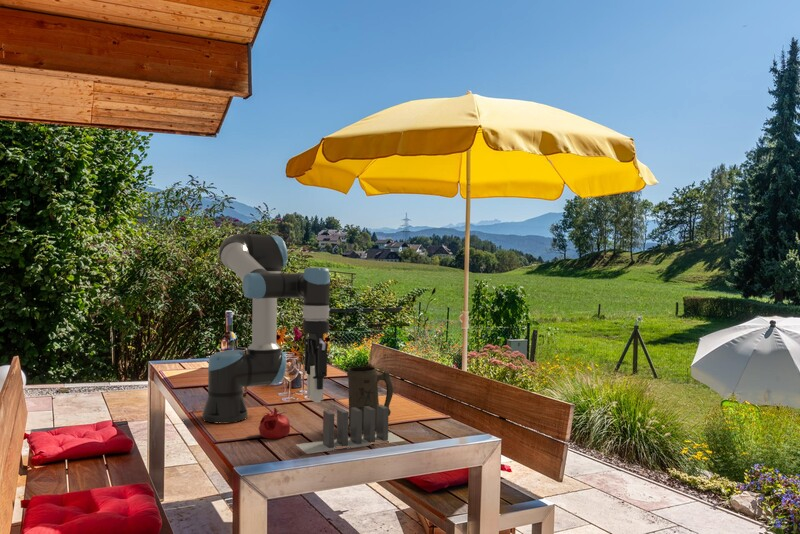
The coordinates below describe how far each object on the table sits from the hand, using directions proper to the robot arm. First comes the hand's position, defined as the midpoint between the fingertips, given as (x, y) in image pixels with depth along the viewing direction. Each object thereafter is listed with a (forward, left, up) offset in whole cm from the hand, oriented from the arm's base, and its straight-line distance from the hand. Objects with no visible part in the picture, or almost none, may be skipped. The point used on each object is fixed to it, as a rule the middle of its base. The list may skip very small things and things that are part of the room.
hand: (315, 398), depth 184 cm
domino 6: (+22, 0, -15) cm, 27 cm away
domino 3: (+9, 0, -15) cm, 17 cm away
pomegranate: (-7, +17, -15) cm, 24 cm away
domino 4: (+13, 0, -15) cm, 20 cm away
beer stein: (+25, +15, -15) cm, 33 cm away
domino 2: (+4, 0, -15) cm, 15 cm away
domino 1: (0, 0, -1) cm, 1 cm away
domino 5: (+18, 0, -15) cm, 23 cm away
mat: (+12, 0, -15) cm, 19 cm away
